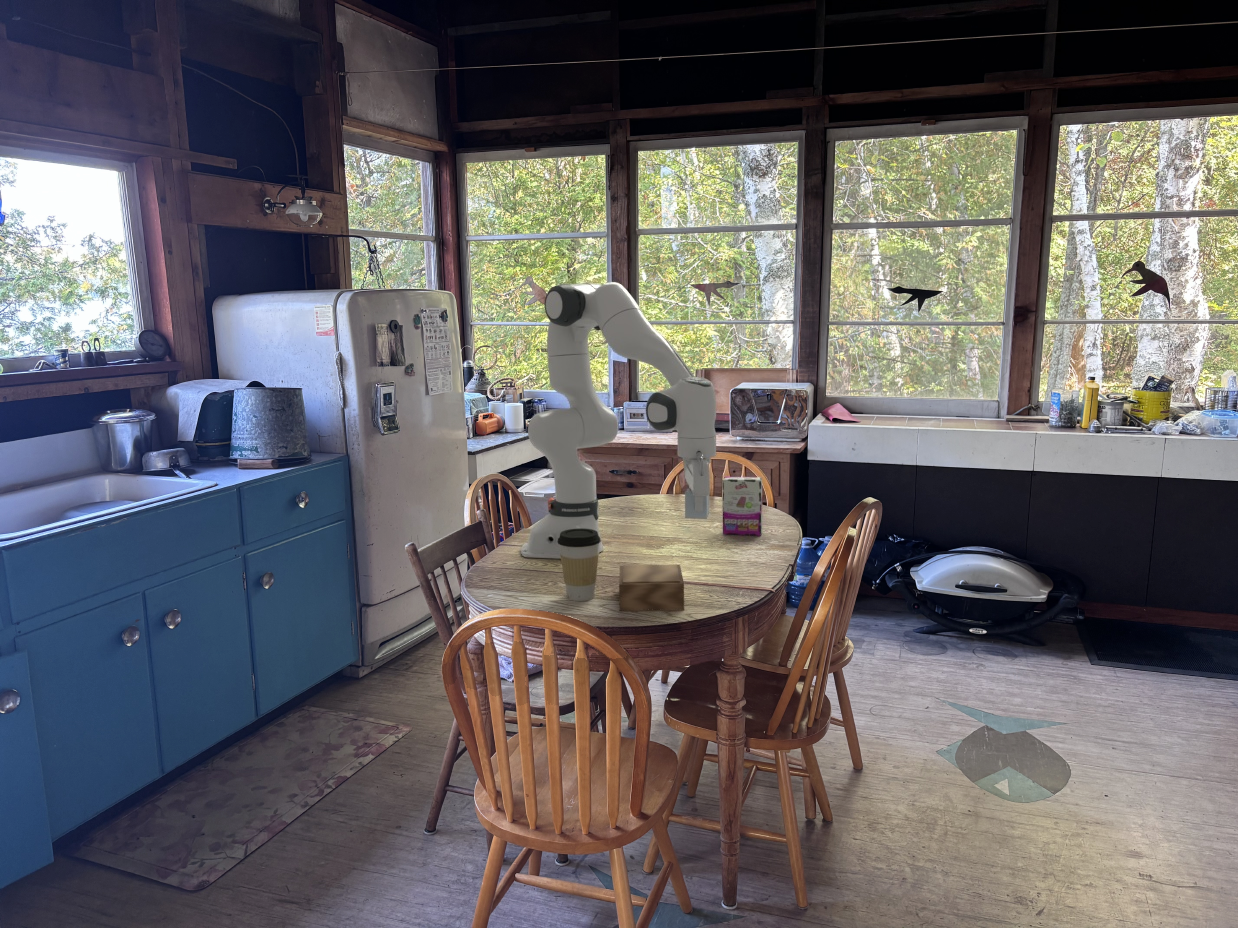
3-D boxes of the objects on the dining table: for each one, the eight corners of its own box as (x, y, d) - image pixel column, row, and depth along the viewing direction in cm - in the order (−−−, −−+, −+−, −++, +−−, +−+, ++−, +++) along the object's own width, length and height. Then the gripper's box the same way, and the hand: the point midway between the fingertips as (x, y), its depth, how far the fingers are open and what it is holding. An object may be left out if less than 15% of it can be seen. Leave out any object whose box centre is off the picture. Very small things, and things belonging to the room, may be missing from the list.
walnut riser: (619, 610, 187) (619, 583, 186) (620, 590, 201) (619, 564, 199) (684, 609, 187) (683, 582, 185) (680, 589, 200) (680, 563, 199)
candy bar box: (762, 532, 250) (763, 476, 247) (761, 536, 246) (761, 480, 243) (724, 530, 253) (724, 475, 250) (722, 534, 248) (722, 479, 245)
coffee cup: (601, 589, 202) (600, 527, 199) (602, 603, 192) (600, 538, 189) (559, 590, 201) (557, 528, 199) (558, 604, 192) (556, 539, 189)
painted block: (685, 518, 198) (684, 492, 197) (688, 513, 203) (687, 488, 202) (706, 519, 197) (706, 493, 196) (709, 513, 202) (709, 488, 201)
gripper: (716, 455, 187) (716, 517, 189) (705, 441, 207) (705, 497, 209) (687, 456, 187) (687, 518, 189) (679, 442, 207) (679, 498, 209)
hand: (696, 507), depth 199 cm, fingers closed on painted block, 6 cm apart
